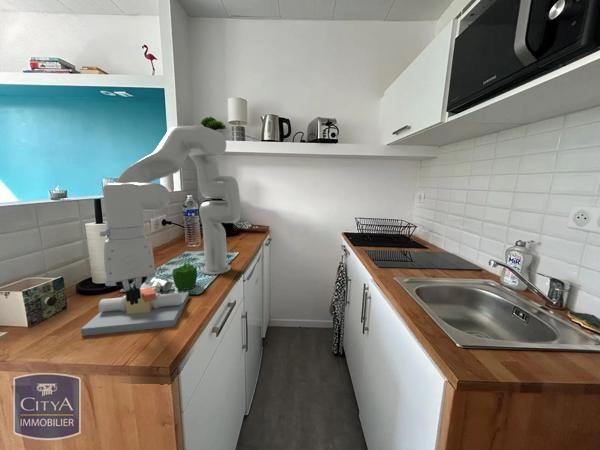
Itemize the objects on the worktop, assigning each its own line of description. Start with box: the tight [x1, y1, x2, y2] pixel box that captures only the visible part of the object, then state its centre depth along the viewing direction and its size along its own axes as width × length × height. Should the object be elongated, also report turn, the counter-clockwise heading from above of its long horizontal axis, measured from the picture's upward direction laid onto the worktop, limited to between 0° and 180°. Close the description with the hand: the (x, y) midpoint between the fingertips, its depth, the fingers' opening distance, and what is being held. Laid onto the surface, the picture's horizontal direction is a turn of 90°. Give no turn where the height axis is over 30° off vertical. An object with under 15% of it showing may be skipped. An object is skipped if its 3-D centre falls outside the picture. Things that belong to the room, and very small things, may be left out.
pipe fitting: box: [149, 277, 173, 293], centre depth 91 cm, size 8×4×7 cm
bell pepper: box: [172, 262, 198, 291], centre depth 93 cm, size 8×8×10 cm
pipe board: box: [80, 287, 190, 337], centre depth 74 cm, size 18×22×7 cm
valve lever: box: [133, 280, 156, 302], centre depth 69 cm, size 14×3×3 cm, turn 43°
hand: (133, 302), depth 64 cm, fingers closed
